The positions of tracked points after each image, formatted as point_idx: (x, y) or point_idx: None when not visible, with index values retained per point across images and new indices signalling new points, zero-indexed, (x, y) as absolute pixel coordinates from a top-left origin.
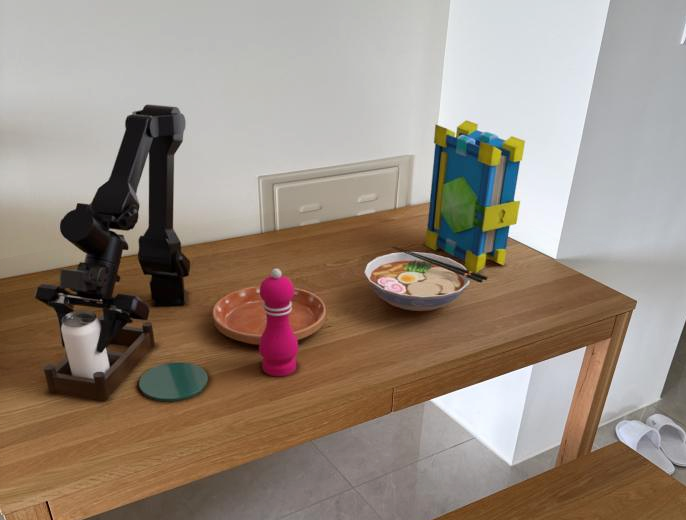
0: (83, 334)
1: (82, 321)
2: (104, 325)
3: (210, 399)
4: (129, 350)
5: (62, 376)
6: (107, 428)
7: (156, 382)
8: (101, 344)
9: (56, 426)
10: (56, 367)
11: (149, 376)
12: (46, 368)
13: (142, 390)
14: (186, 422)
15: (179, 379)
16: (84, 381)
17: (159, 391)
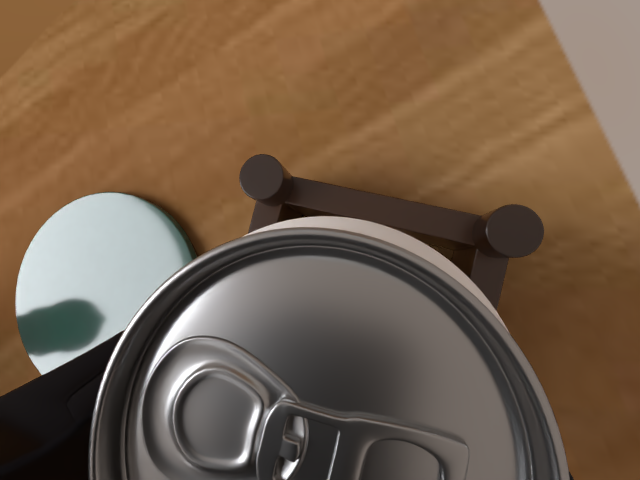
0: (253, 232)
1: (257, 401)
2: (90, 384)
3: (17, 210)
4: None
5: (436, 216)
6: (249, 58)
7: (145, 278)
8: None
9: (396, 50)
10: (490, 292)
11: None
12: (522, 214)
13: (178, 232)
14: (64, 104)
15: (85, 296)
16: (333, 186)
17: (131, 228)
